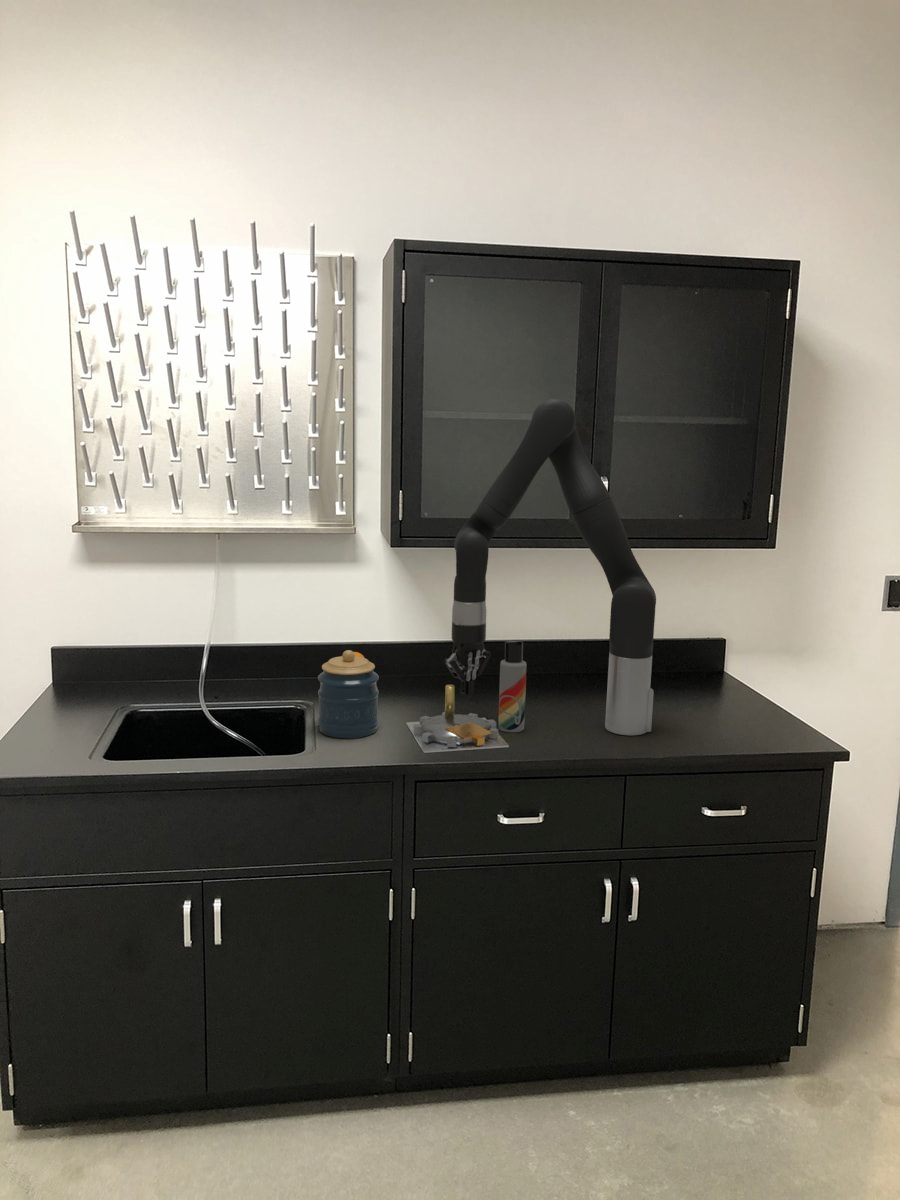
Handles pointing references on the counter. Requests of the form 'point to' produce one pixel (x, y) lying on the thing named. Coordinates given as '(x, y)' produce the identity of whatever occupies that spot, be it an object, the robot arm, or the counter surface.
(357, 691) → the canister
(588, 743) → the counter surface
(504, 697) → the lotion bottle
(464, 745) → the base plate
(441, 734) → the sprocket
